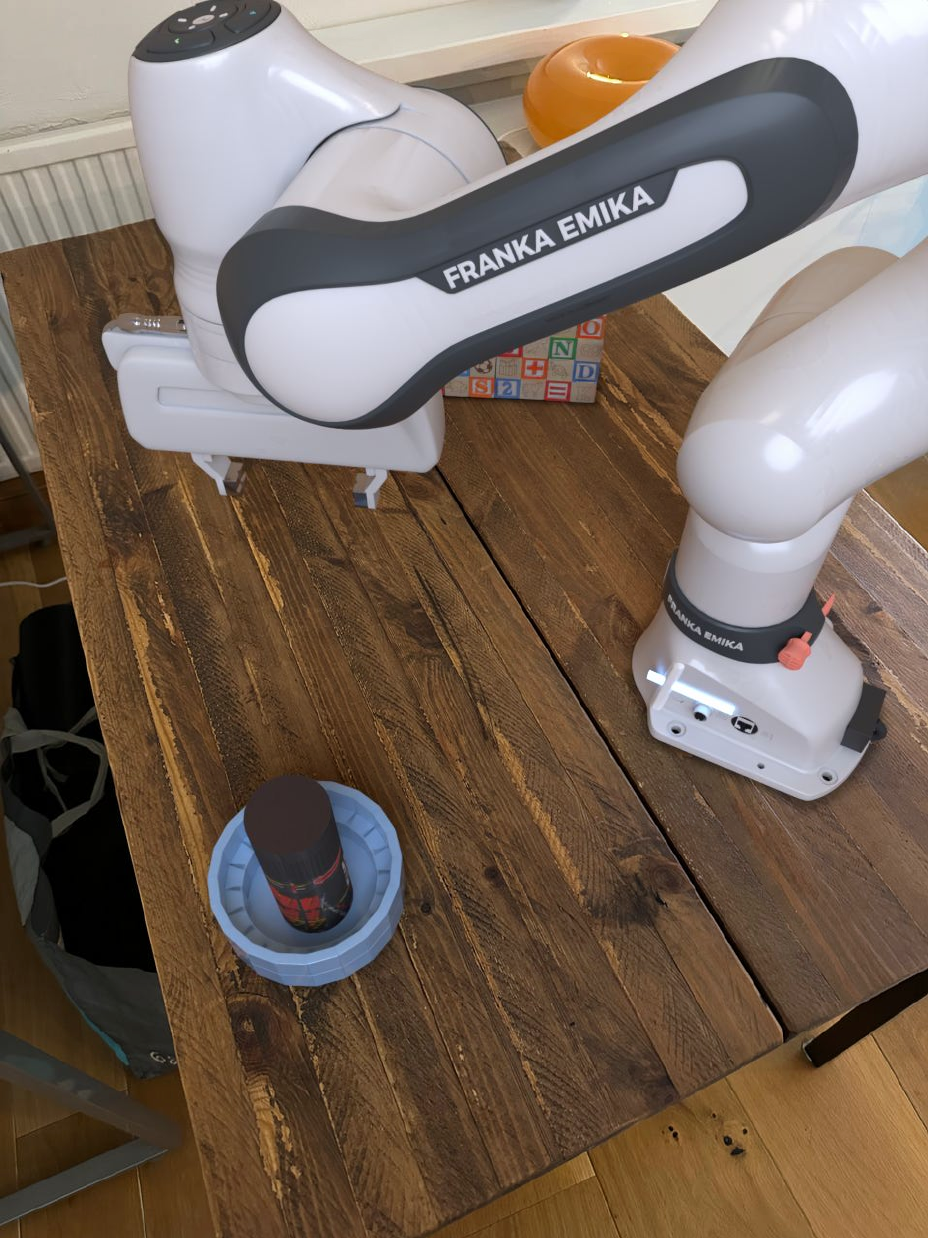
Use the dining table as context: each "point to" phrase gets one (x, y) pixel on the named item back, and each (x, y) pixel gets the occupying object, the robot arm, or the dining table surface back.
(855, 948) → the dining table surface
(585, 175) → the robot arm
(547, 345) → the stack of blocks
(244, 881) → the bowl
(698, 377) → the dining table surface
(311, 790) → the deodorant
